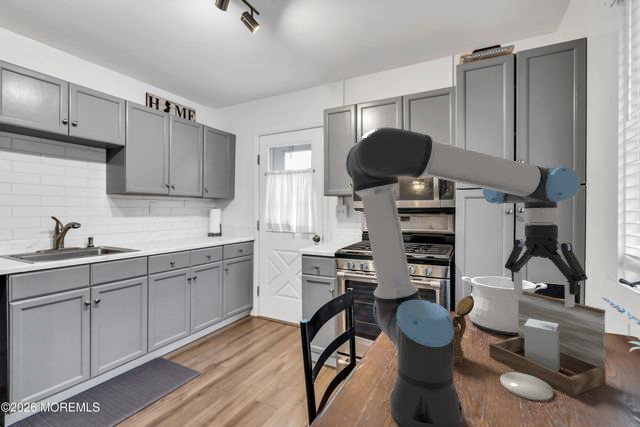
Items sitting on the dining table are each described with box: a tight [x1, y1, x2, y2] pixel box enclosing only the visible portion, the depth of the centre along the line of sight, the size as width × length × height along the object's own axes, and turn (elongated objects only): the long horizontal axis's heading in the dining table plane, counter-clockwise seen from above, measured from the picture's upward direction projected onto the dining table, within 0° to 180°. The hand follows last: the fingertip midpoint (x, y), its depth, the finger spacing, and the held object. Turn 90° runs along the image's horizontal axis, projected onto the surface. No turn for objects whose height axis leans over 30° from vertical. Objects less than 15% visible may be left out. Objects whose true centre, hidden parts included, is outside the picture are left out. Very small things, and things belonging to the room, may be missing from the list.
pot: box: [461, 275, 548, 337], centre depth 118 cm, size 28×24×17 cm
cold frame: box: [488, 291, 607, 397], centre depth 85 cm, size 14×22×19 cm, turn 22°
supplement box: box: [524, 319, 561, 373], centre depth 85 cm, size 7×7×13 cm
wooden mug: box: [452, 295, 474, 364], centre depth 94 cm, size 9×14×18 cm, turn 102°
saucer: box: [499, 371, 554, 402], centre depth 77 cm, size 11×11×1 cm
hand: (542, 299), depth 85 cm, fingers open, 13 cm apart
